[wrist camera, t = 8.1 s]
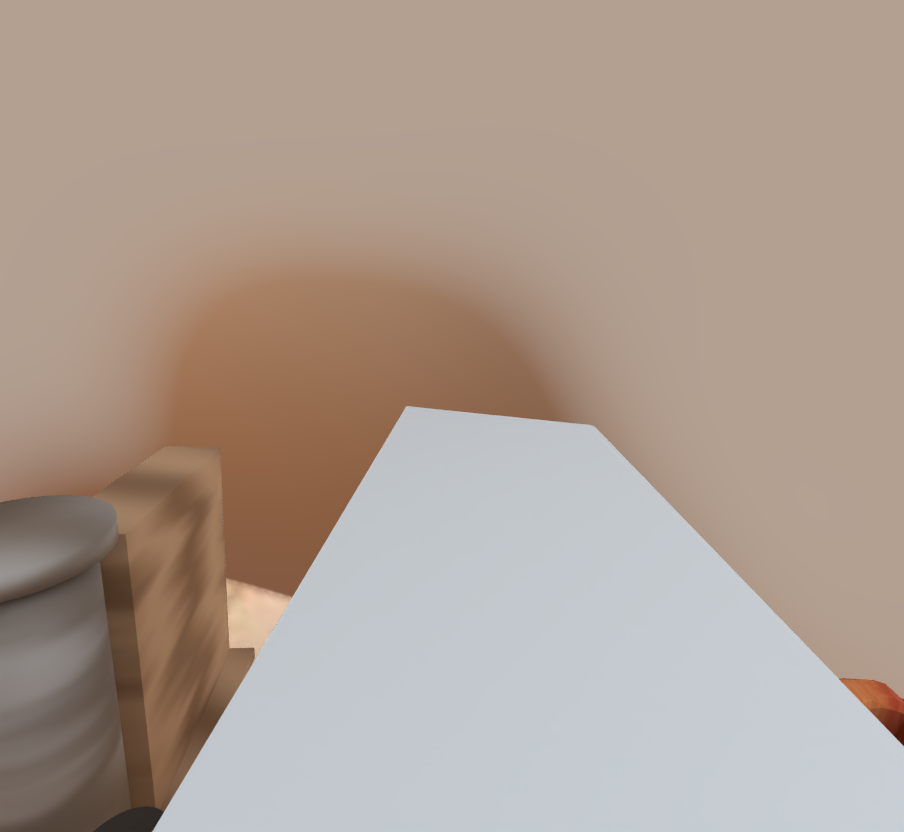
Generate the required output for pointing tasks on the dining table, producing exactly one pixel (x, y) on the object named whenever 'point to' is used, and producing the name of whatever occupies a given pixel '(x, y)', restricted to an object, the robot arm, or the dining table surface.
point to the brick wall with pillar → (112, 643)
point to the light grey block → (532, 665)
